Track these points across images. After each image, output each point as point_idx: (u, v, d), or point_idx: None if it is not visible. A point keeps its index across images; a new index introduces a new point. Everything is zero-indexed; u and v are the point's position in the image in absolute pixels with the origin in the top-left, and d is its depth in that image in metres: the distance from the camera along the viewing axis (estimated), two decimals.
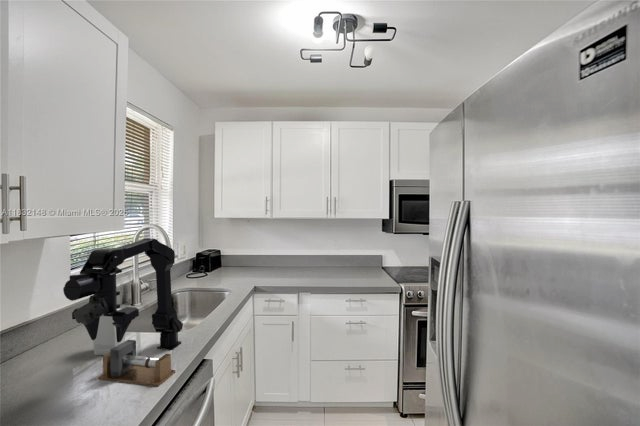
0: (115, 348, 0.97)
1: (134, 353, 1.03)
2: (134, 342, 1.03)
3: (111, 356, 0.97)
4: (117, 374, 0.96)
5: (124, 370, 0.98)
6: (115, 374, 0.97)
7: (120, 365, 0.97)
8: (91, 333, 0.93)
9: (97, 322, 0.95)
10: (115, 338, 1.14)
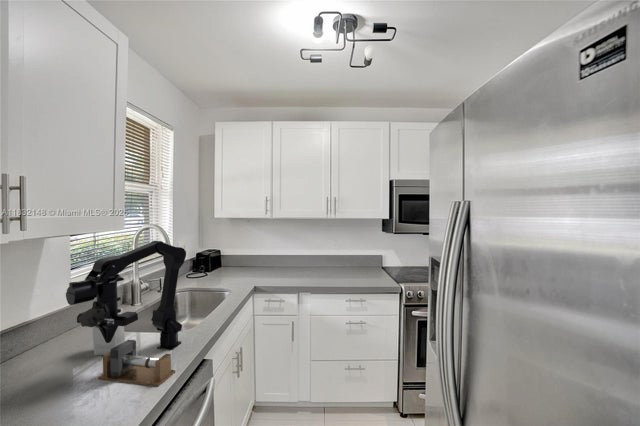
0: (115, 348, 0.97)
1: (134, 353, 1.03)
2: (134, 342, 1.03)
3: (111, 356, 0.97)
4: (117, 374, 0.96)
5: (124, 370, 0.98)
6: (115, 374, 0.97)
7: (120, 365, 0.97)
8: (105, 336, 1.00)
9: None
10: (115, 338, 1.14)
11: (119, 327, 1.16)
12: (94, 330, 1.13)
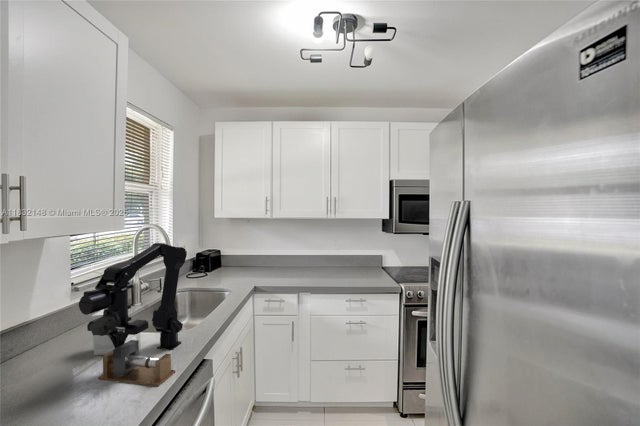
0: (118, 348, 0.97)
1: (137, 353, 1.02)
2: (137, 342, 1.02)
3: (114, 357, 0.96)
4: (120, 374, 0.96)
5: (127, 370, 0.98)
6: (118, 374, 0.96)
7: (123, 365, 0.97)
8: (116, 345, 1.00)
9: None
10: None
11: None
12: None
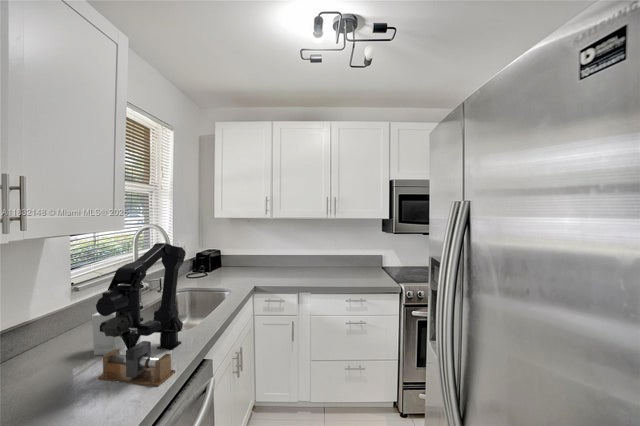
0: (130, 349, 0.96)
1: (149, 354, 1.02)
2: (149, 343, 1.02)
3: (127, 358, 0.96)
4: (133, 376, 0.95)
5: (139, 372, 0.97)
6: (131, 376, 0.95)
7: (135, 367, 0.96)
8: (128, 346, 0.99)
9: None
10: (115, 338, 1.14)
11: None
12: (94, 330, 1.13)
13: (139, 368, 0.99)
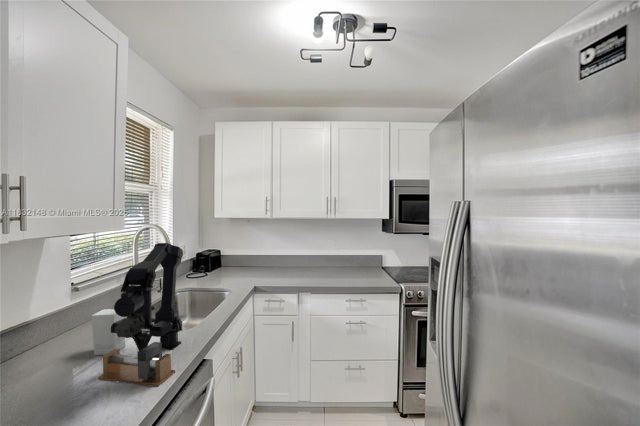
0: (142, 351, 0.95)
1: (160, 356, 1.01)
2: (160, 344, 1.01)
3: (138, 359, 0.95)
4: (144, 377, 0.95)
5: (151, 373, 0.97)
6: (142, 377, 0.95)
7: (147, 368, 0.95)
8: (140, 347, 0.98)
9: None
10: (115, 338, 1.14)
11: None
12: (94, 330, 1.13)
13: (151, 369, 0.98)
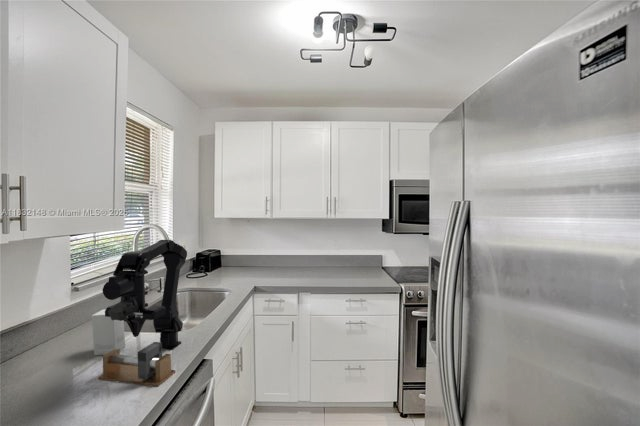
0: (142, 351, 0.95)
1: (160, 356, 1.01)
2: (160, 344, 1.01)
3: (138, 359, 0.95)
4: (145, 377, 0.95)
5: (151, 373, 0.97)
6: (143, 377, 0.95)
7: (148, 368, 0.95)
8: (133, 330, 1.00)
9: None
10: (115, 338, 1.14)
11: (119, 327, 1.16)
12: (94, 330, 1.13)
13: (151, 369, 0.98)
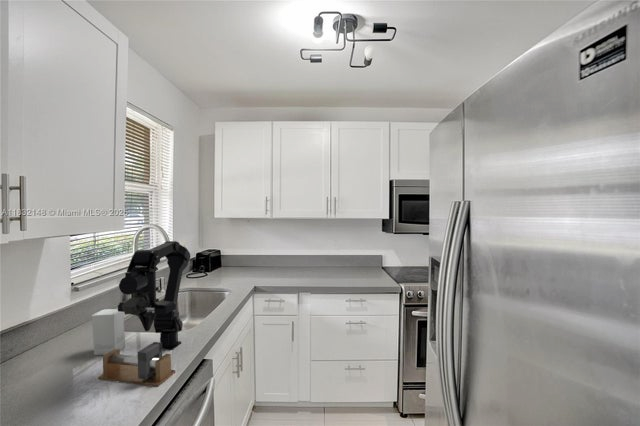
0: (142, 351, 0.95)
1: (160, 356, 1.01)
2: (160, 344, 1.01)
3: (138, 359, 0.95)
4: (145, 377, 0.95)
5: (151, 373, 0.97)
6: (143, 377, 0.95)
7: (148, 368, 0.95)
8: (145, 325, 1.04)
9: None
10: (115, 338, 1.14)
11: (119, 327, 1.16)
12: (94, 330, 1.13)
13: (151, 369, 0.98)
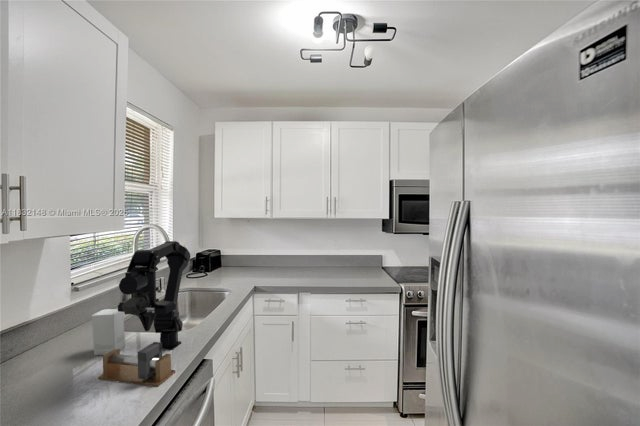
0: (142, 351, 0.95)
1: (160, 356, 1.01)
2: (160, 344, 1.01)
3: (138, 359, 0.95)
4: (145, 377, 0.95)
5: (151, 373, 0.97)
6: (143, 377, 0.95)
7: (148, 368, 0.95)
8: (145, 325, 1.04)
9: None
10: (115, 338, 1.14)
11: (119, 327, 1.16)
12: (94, 330, 1.13)
13: (151, 369, 0.98)
